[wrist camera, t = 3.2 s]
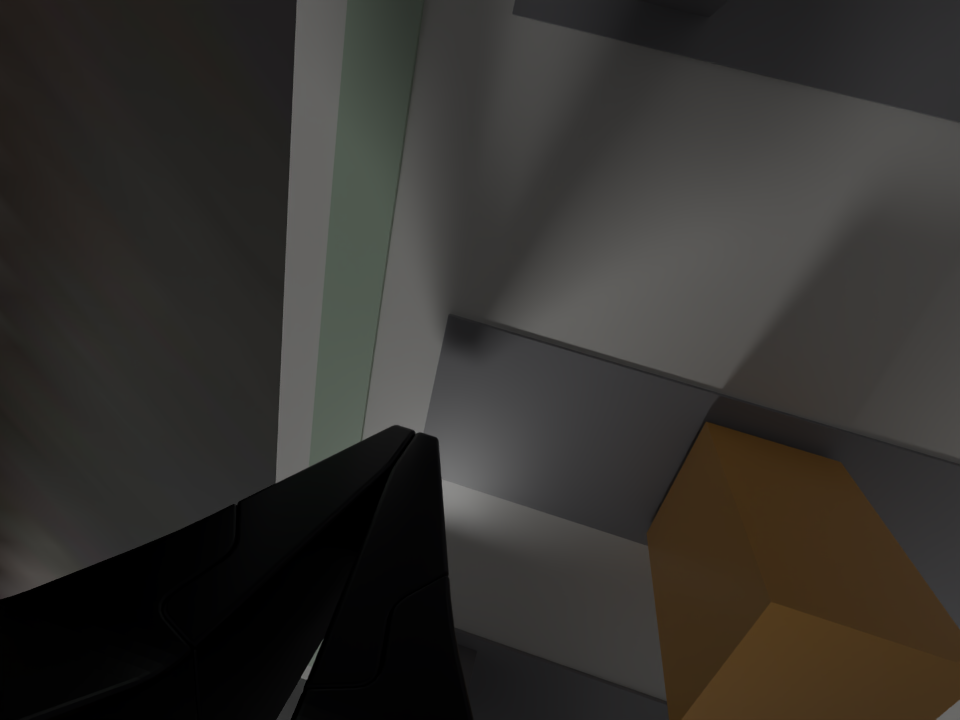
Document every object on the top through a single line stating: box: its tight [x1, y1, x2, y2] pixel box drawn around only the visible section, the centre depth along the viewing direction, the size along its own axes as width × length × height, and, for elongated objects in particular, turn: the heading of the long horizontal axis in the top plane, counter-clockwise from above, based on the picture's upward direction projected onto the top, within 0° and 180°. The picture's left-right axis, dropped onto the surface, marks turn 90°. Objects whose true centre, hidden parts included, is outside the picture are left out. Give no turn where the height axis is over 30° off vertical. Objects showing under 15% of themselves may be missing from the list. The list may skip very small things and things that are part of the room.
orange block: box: [647, 422, 960, 720], centre depth 8 cm, size 3×2×4 cm
